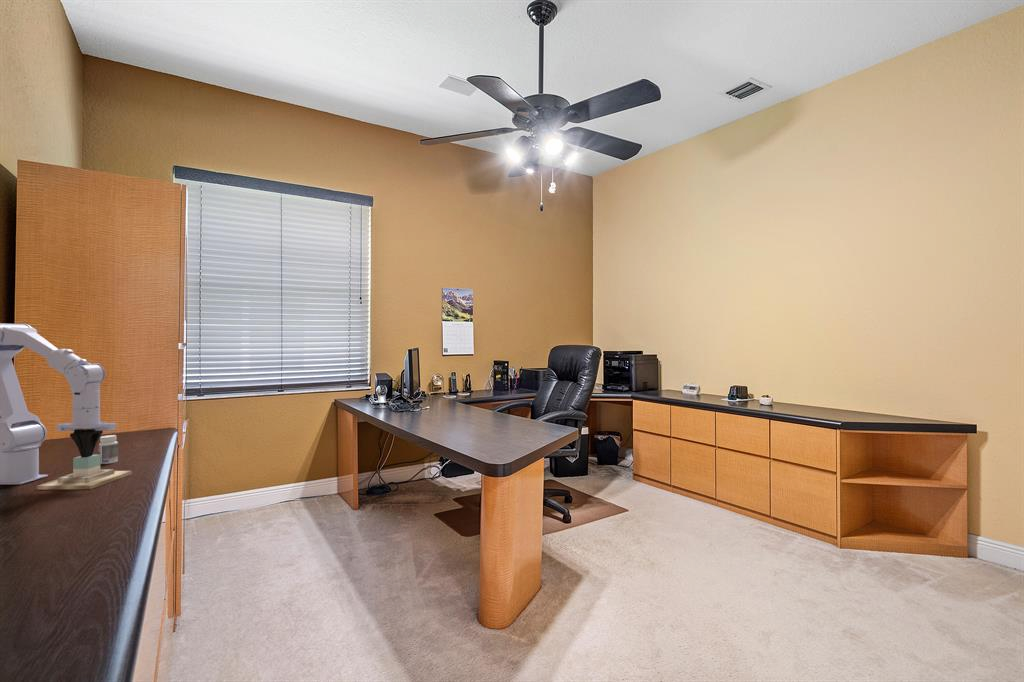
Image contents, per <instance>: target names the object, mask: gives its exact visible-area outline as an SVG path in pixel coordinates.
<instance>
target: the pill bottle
mask: <svg viewBox="0 0 1024 682" xmlns="http://www.w3.org/2000/svg"><path fill="white" fill-rule="evenodd" d="M99 441H100V442H99V444H98V454H100V465H108V464H109V465H110V464H113V463H117V462H118V461H119V441H117V435H116V434H110V435H109V434H108V435H101V436H100V437H99Z"/></svg>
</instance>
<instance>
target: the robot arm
mask: <svg viewBox="0 0 1024 682" xmlns="http://www.w3.org/2000/svg"><path fill="white" fill-rule="evenodd" d="M25 348H27V349H28V350H31V351H32V352H34V353H37V354H38V355H40V356H41V357H43V358H45V359H46V363H47V365H48V366H49V367H51V368H53V369H54V370H56V371H57V372H58V373H61V374H62V375H64V376H65V379H66V380H65V381H66V382H67V383H68V384H69V390H70V391H71V393H72V394H71V395H72V422H64V423H57V424H56V432H66V431H67V432H71V433H70V434H69V437H70V438H71V439H72V440H73V442H74V443H75V445H76V447H77V449H78V451H79V454H80V455H79V456H81V457H89V456H92V455H93V454H94V451H95V447H96V444H97V443H98V441H99V440H100V437H102V435H103V433H104V431H106V432H111V431H116V430H117V422H105V421H104V422H103V421H101V383H102V382H103V381H104V380H105V378H106V370H105V368H104V367H103V366H102V365H101V364H100V363H90V362H88V360H87V359H85V358H82V357H80V356H79V355H77V354H75V353H74V350H73V349H70V348H69V349H68V348H58V347H57V346H55V345H53V344H52V343H51V342H50V341H48V340H47V339H46V338H44V336H41V334H39V333H38V330H37V329H36V328H34V327H32V326H31V325H30V324H28V323H1V322H0V485H23V484H26V483H30V482H34V481H36V480H40V479H43V478H47V477H48V476H49V474H40V471H39V470H40V469H39V468H40V457H39V456H40V455H39V453H40V452H39V451H40V450H39V449H40V448H39V447H42V443H43V442H44V441H45V439H47V435H48V430H47V427H46V426H45V425H44V424H43V423H42V422H41V420H40V416H37V415H36V414H34V413H31V412H30V411H29V409H28V407H27V403H26V401H25V397H24V395H23V391H22V387H21V385H20V382H19V378H18V376H17V372H16V368H15V366H14V363H13V360H12V359H13V358H14V357H15V356H16V355H17V354H19V353H20V352H22V351H24V349H25Z"/></svg>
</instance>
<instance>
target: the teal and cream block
mask: <svg viewBox="0 0 1024 682" xmlns="http://www.w3.org/2000/svg"><path fill="white" fill-rule="evenodd" d="M72 462H73V463H72V468H73V470H72V471H73V472H72V473H73V477H89V476H92V475H95V474H98V473H100V469H101V464H100V454H99V453H98V454H97V453H96V454H94V453H93V455H92V456H89V457H81V455H79V456H76V457H73V459H72Z"/></svg>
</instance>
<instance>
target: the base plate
mask: <svg viewBox="0 0 1024 682" xmlns="http://www.w3.org/2000/svg"><path fill="white" fill-rule="evenodd" d="M132 474H133V470H115V469H114V468H113V469H112V468H111V469H110V468H109V469H107V468H103V469H101V468H100V473H98V474H95V475H92V476H89V477H73V472H72V473H69V474H66V475H63V476H59V477H57V478H56V479H53V480H51V481H48V482H45V483H41V484H39V485H36V491H37V490H93V489H95V488H98V487H101V486H104V485H106V484H109V483H112V482H114V481H119V480H120V479H123V478H126V477H127V476H128V477H129V476H131V475H132Z"/></svg>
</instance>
